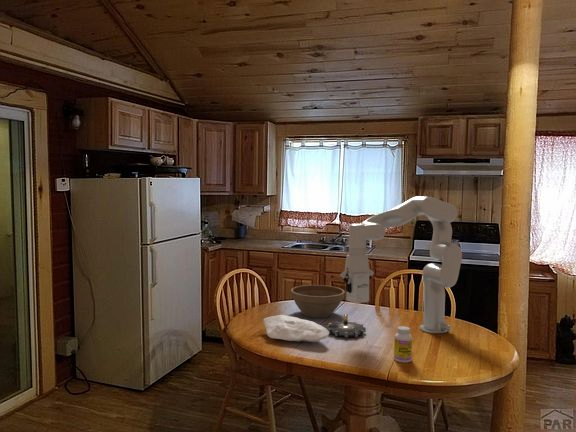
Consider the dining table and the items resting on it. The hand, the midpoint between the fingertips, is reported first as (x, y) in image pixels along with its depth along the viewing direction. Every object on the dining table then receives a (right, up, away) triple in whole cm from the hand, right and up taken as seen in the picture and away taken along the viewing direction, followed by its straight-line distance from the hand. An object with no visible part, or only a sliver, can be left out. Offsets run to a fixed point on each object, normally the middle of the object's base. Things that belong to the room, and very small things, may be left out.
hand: (357, 291), depth 208 cm
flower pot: (-15, -19, +41) cm, 48 cm away
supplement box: (0, -5, 0) cm, 5 cm away
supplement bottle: (+15, -24, -23) cm, 36 cm away
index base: (-7, -21, +14) cm, 26 cm away
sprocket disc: (-4, -21, +11) cm, 24 cm away
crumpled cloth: (-27, -22, +3) cm, 34 cm away
